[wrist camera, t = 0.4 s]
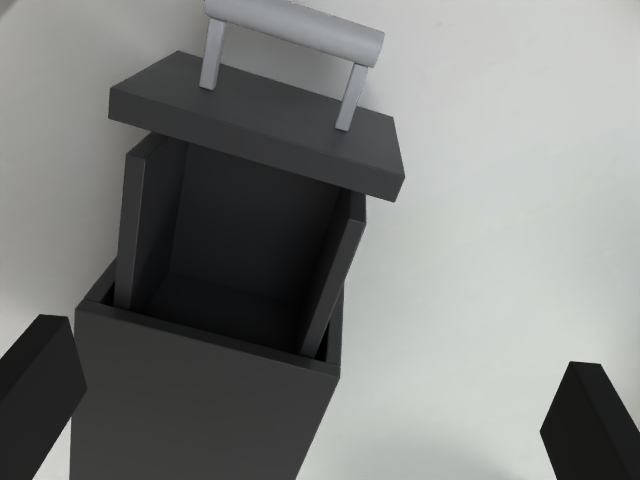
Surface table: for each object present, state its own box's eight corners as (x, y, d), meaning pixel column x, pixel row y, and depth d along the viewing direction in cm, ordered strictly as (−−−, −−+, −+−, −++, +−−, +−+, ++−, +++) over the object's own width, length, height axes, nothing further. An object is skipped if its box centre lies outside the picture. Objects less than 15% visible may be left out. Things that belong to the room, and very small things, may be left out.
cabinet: (151, 211, 30) (74, 308, 22) (345, 266, 31) (340, 378, 23) (131, 372, 38) (68, 490, 30) (289, 411, 39) (270, 536, 31)
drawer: (189, -43, 22) (117, -41, 16) (424, 33, 23) (451, 67, 17) (150, 264, 31) (93, 349, 25) (321, 310, 32) (311, 405, 26)
